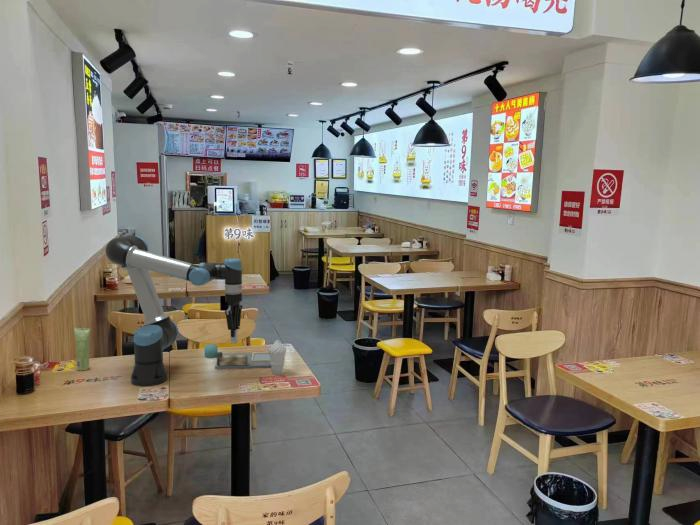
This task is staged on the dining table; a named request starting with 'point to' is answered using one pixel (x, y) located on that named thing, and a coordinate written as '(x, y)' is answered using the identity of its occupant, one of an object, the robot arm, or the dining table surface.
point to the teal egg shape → (211, 350)
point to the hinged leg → (231, 359)
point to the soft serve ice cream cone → (277, 357)
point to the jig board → (250, 361)
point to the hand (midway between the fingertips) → (234, 343)
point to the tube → (82, 348)
